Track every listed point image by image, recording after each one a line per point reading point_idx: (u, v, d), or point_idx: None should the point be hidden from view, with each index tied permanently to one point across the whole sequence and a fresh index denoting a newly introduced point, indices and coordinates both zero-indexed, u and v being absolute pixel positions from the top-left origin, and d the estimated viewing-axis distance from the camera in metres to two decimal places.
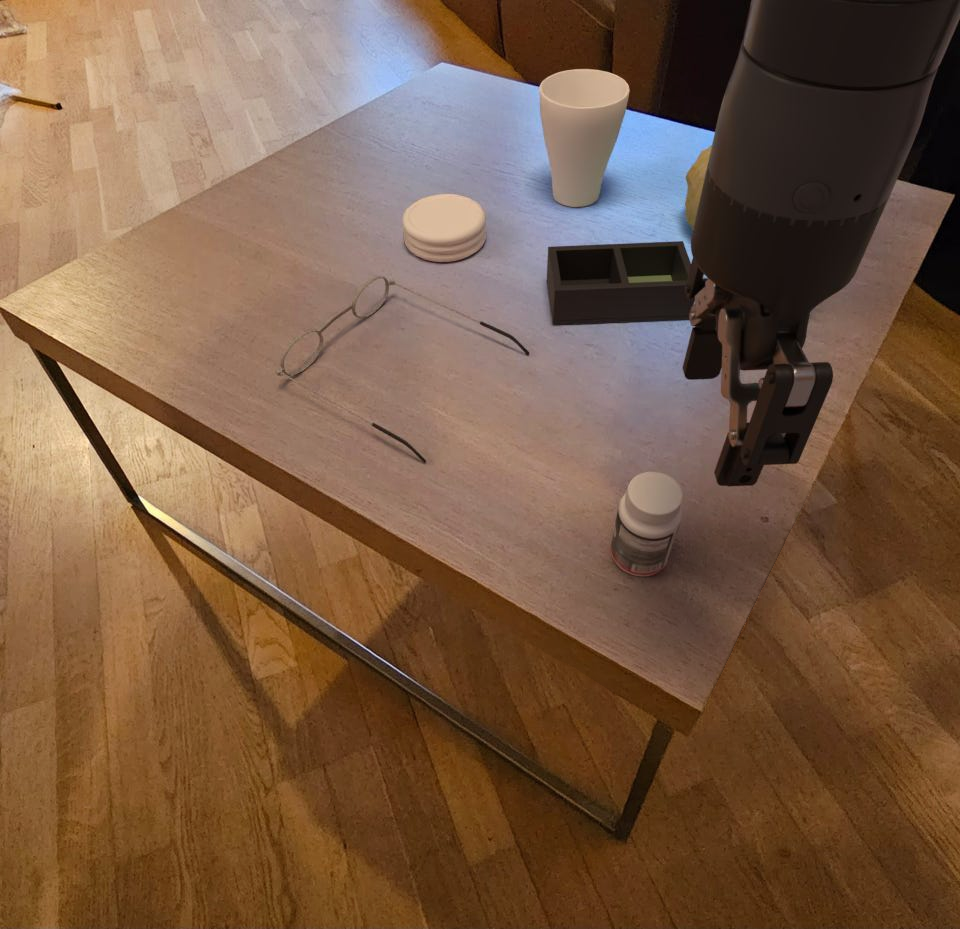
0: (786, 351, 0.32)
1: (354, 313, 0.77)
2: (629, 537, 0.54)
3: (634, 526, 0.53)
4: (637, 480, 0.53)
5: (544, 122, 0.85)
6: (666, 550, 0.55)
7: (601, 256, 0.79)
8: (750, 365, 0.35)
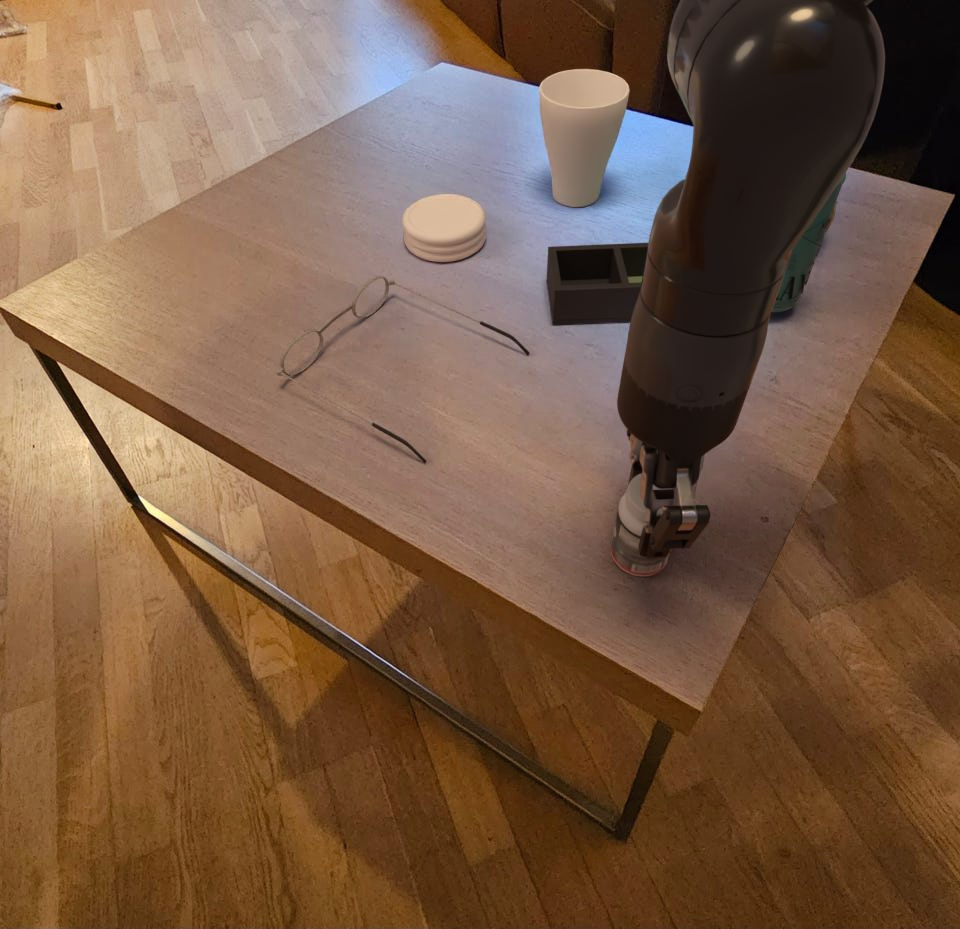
0: (681, 494, 0.45)
1: (354, 313, 0.77)
2: (629, 537, 0.54)
3: (634, 526, 0.53)
4: (637, 480, 0.53)
5: (544, 122, 0.85)
6: None
7: (601, 256, 0.79)
8: (663, 487, 0.47)
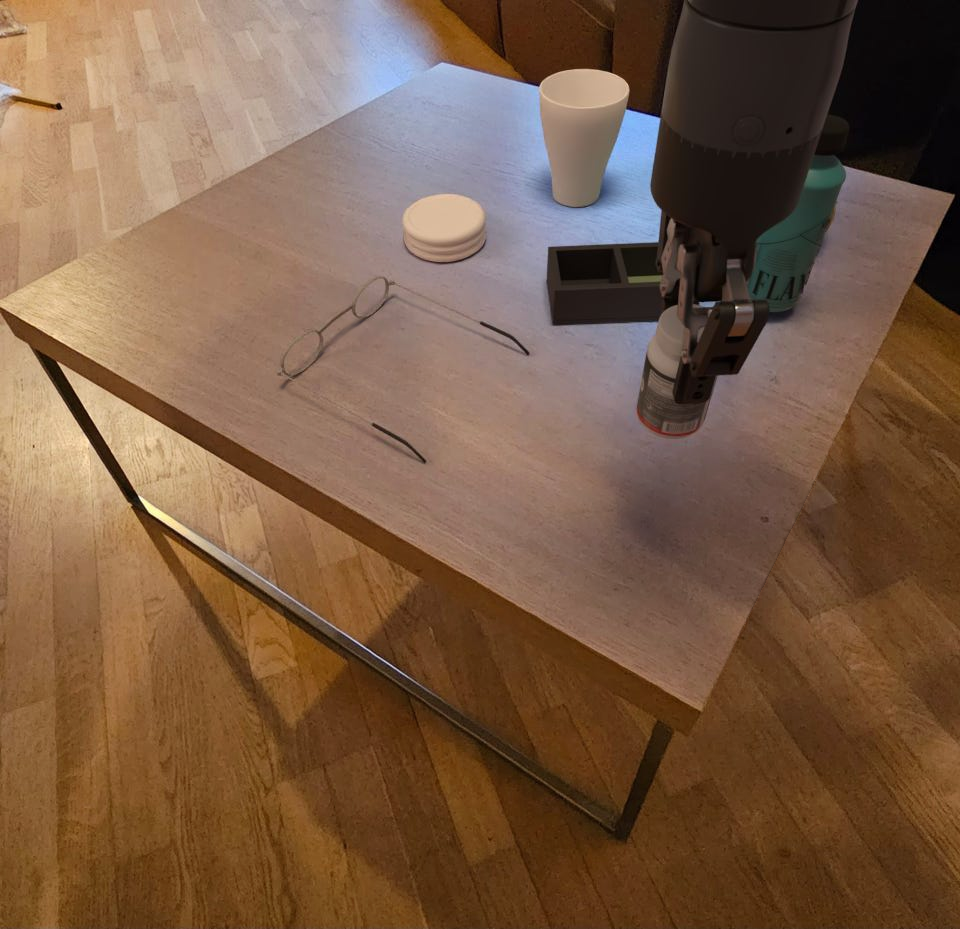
0: (732, 287, 0.36)
1: (354, 313, 0.77)
2: (660, 383, 0.46)
3: (667, 366, 0.45)
4: (670, 312, 0.45)
5: (544, 122, 0.85)
6: None
7: (601, 256, 0.79)
8: (707, 295, 0.39)
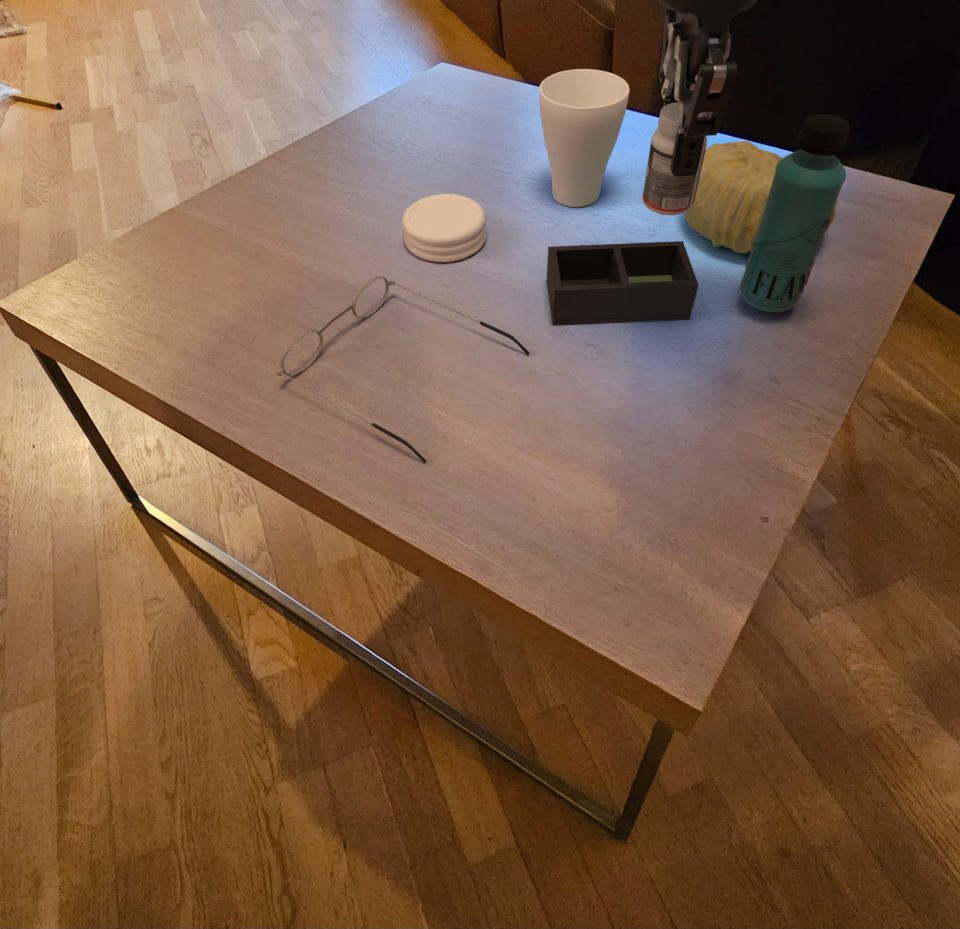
0: (712, 55, 0.52)
1: (354, 313, 0.77)
2: (661, 162, 0.62)
3: (666, 145, 0.61)
4: (668, 106, 0.61)
5: (544, 122, 0.85)
6: (693, 179, 0.63)
7: (601, 256, 0.79)
8: (695, 72, 0.55)
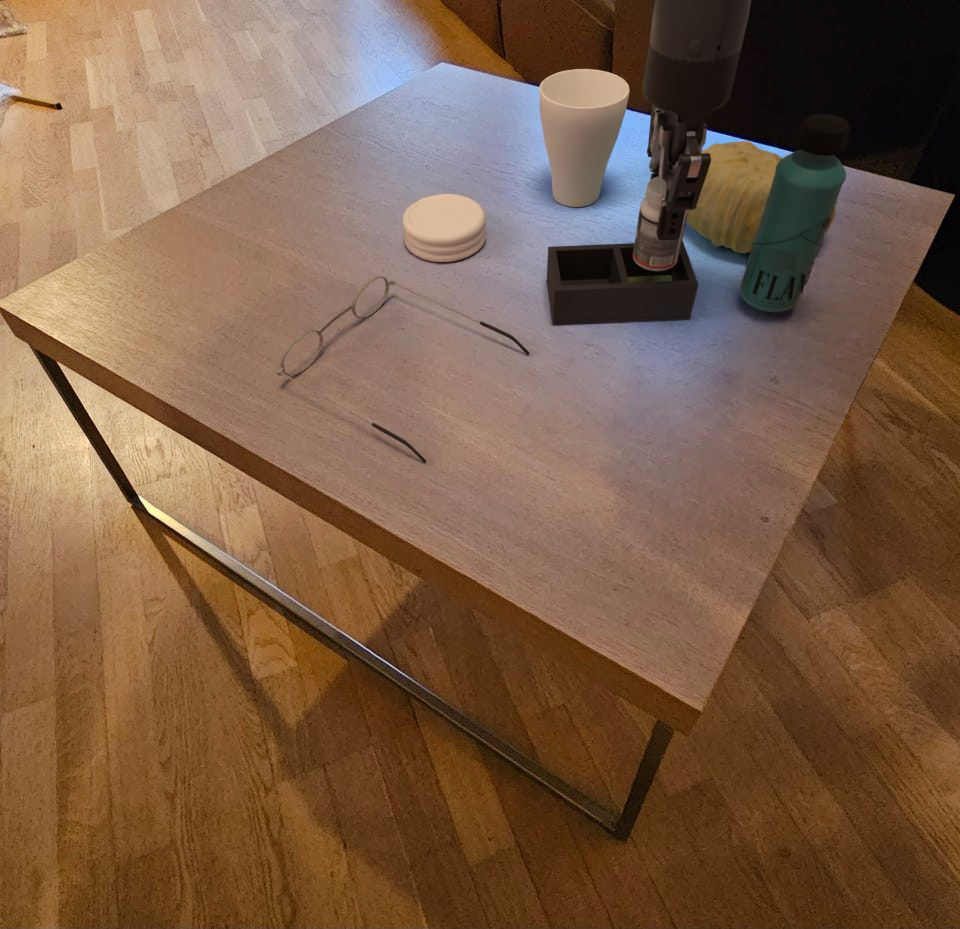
0: (690, 146, 0.61)
1: (354, 313, 0.77)
2: (648, 227, 0.71)
3: (652, 213, 0.70)
4: (655, 179, 0.70)
5: (544, 122, 0.85)
6: (676, 241, 0.72)
7: (601, 256, 0.79)
8: (676, 157, 0.64)
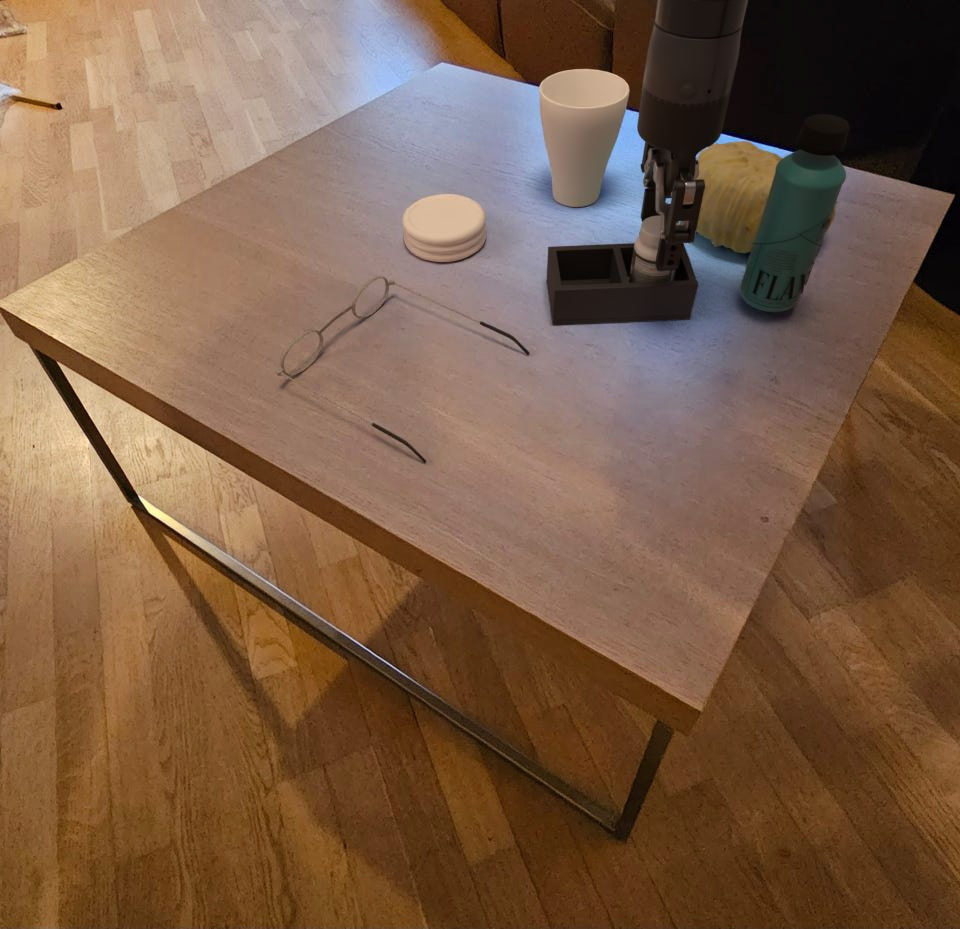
0: (683, 176, 0.64)
1: (354, 313, 0.77)
2: (642, 265, 0.75)
3: (646, 252, 0.73)
4: (648, 220, 0.74)
5: (544, 122, 0.85)
6: (669, 278, 0.76)
7: (601, 256, 0.79)
8: (669, 192, 0.67)
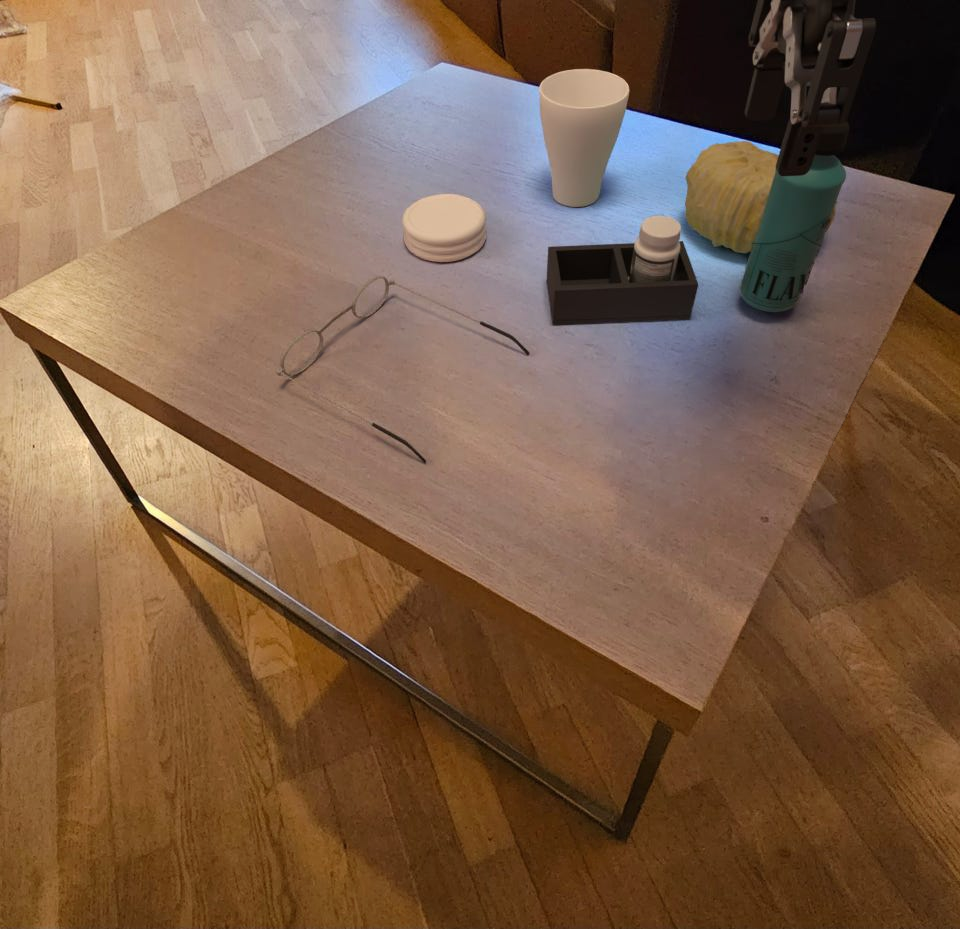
0: (839, 16, 0.43)
1: (354, 313, 0.77)
2: (642, 265, 0.75)
3: (646, 252, 0.73)
4: (648, 220, 0.74)
5: (544, 122, 0.85)
6: (669, 278, 0.76)
7: (601, 256, 0.79)
8: (809, 51, 0.46)
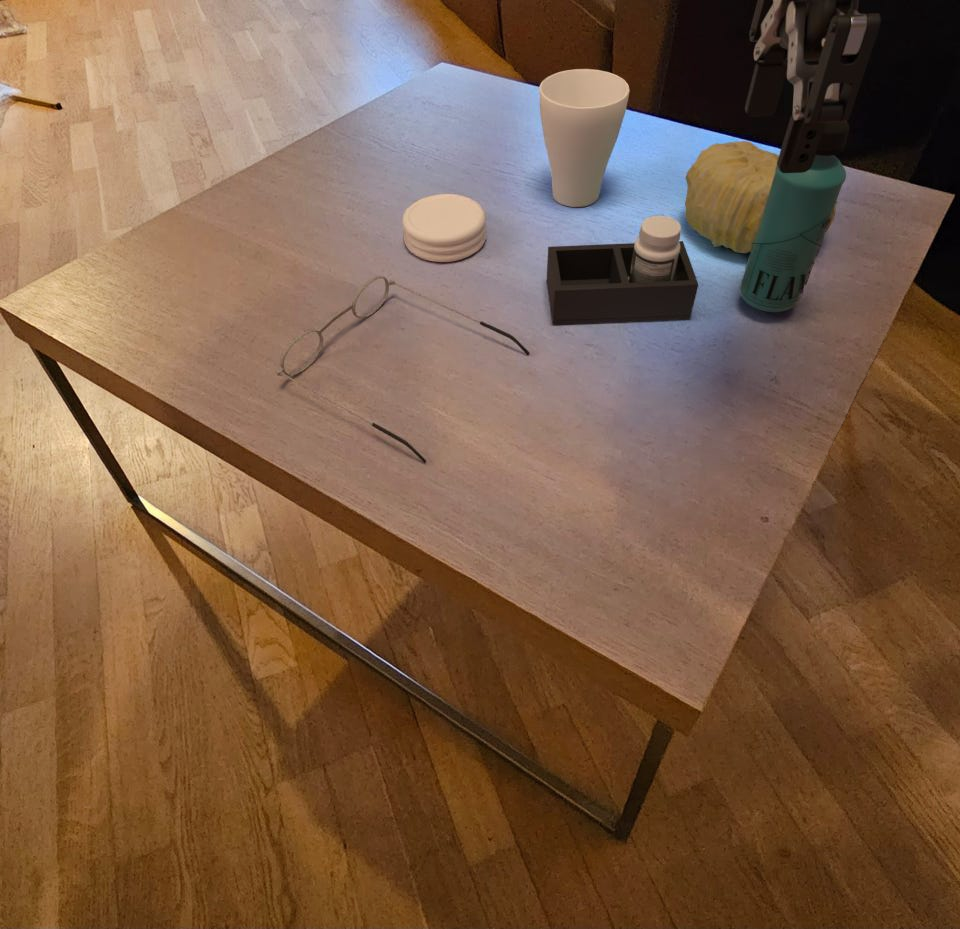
0: (844, 11, 0.42)
1: (354, 313, 0.77)
2: (642, 265, 0.75)
3: (646, 252, 0.73)
4: (648, 220, 0.74)
5: (544, 122, 0.85)
6: (669, 278, 0.76)
7: (601, 256, 0.79)
8: (812, 46, 0.45)
